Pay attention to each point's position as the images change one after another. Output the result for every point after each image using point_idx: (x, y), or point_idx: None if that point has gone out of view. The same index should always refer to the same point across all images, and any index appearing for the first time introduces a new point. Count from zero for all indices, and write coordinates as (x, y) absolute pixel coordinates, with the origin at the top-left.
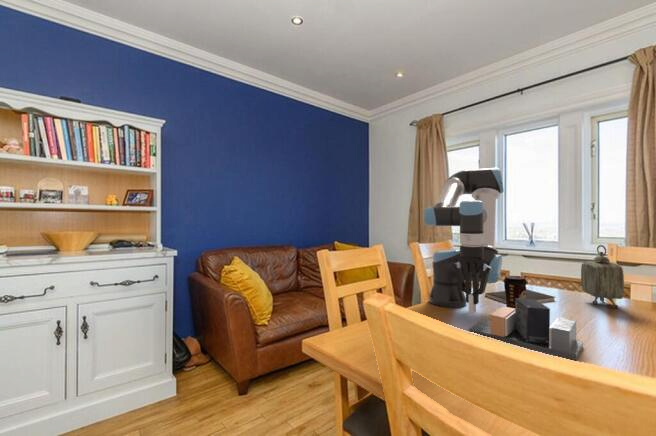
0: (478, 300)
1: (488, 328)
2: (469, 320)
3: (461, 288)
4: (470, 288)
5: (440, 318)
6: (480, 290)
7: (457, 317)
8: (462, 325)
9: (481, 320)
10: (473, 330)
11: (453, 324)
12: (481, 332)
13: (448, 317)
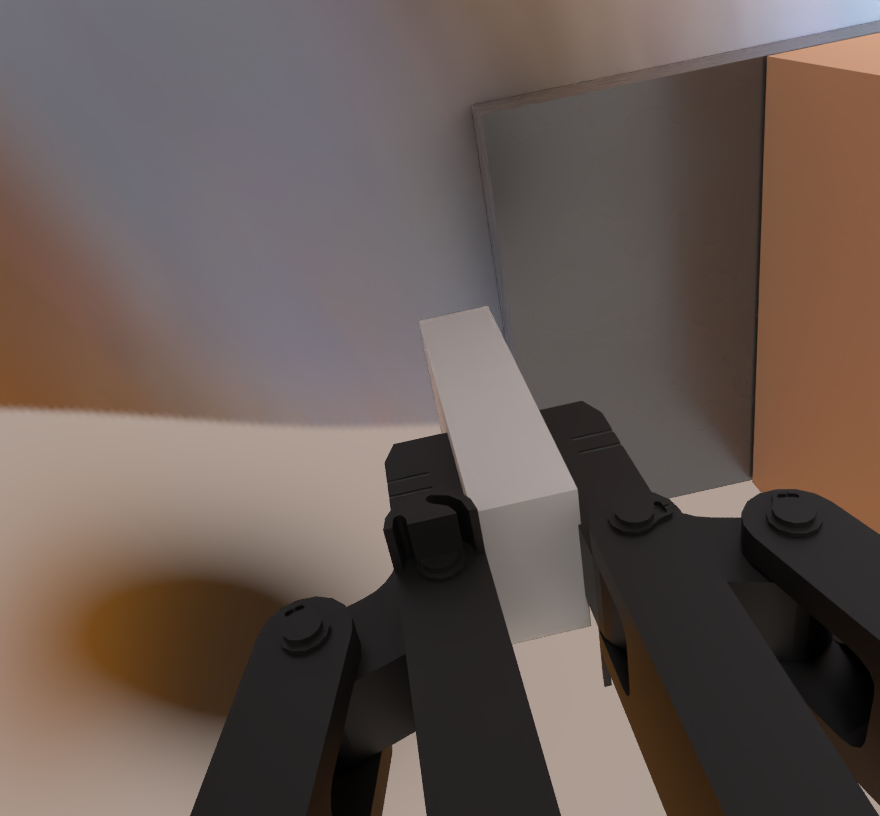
0: (615, 443)
1: (682, 361)
2: (273, 118)
3: (342, 778)
4: (494, 638)
5: (6, 380)
6: (821, 695)
7: (78, 144)
8: (349, 367)
9: (493, 161)
10: None
11: (266, 422)
12: (663, 494)
13: (17, 257)
